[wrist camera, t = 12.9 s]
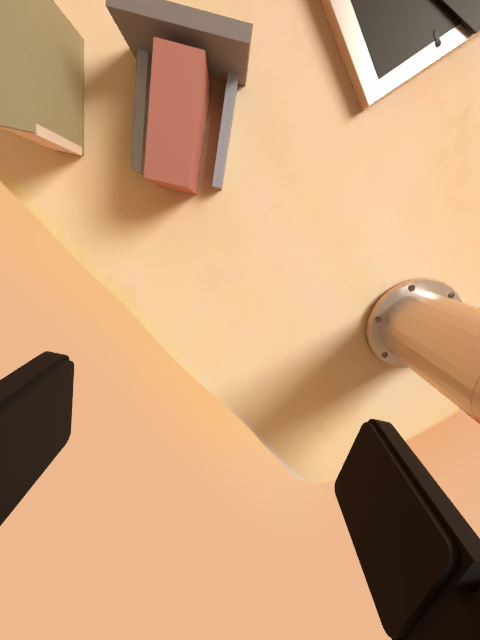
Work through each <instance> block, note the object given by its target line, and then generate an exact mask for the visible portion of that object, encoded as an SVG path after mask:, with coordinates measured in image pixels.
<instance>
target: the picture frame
mask: <svg viewBox="0 0 480 640" xmlns="http://www.w3.org/2000/svg"><path fill="white" fill-rule="evenodd" d="M320 2H321V4H322V7H323V9H324V12H325V15H326V17H327V20H328V23H329V25H330V28H331V30H332V33H333V36H334V38H335V41H336V44H337V46H338V49H339V52H340V54H341V57H342V59H343V62H344V65H345V67H346V70H347V73H348V75H349V78H350V80H351V83H352V86H353V88H354V91H355V94H356V96H357V99H358V102H359V104H360V107H361V109H362V111H364V110H365V109H367V108H368V107H370V106H371V105H373V104H374V103H376V102H377V101H379V100H380V99H382V98H383V97H385V96H386V95H388V94H389V93H391V92H392V91H394V90H395V89H397V88H398V87H399V86H401V85H402V84H404V83H405V82H407V81H408V80H410V79H411V78H413V77H414V76H416V75H417V74H419V73H420V72H422V71H423V70H425V69H426V68H428V67H429V66H431V65H432V64H434V63H435V62H437V61H438V60H440V59H441V58H443V57H444V56H445V55H447V54H448V53H450V52H451V51H453V50H454V49H456V48H457V47H459V46H460V45H462V44H463V43H465V42H466V41H468V40H469V39H471V38H472V37H474V36H475V35H477V34H478V33H480V0H320Z"/></svg>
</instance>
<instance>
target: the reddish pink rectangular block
mask: <svg viewBox="0 0 480 640" xmlns="http://www.w3.org/2000/svg"><path fill="white" fill-rule="evenodd" d="M210 91H211V90H210V83H209V76H208V69H207V62H206V55H205V50H202V49H198V48H195V47H191V46H187V45H183V44H180V43H176V42H172V41H168V40H165V39H161V38H157V37H154V38H153V52H152V67H151V81H150V95H149V109H148V123H147V137H146V152H145V166H144V178H145V179H147V180H149V181H151V182H153V183H155V184H156V185H158V186H160V187H163V188H167V189H172V190H177V191H181V192H186V193H191V194H195V195H197V191H198V183H199V176H200V168H201V160H202V153H203V145H204V137H205V130H206V122H207V114H208V107H209V99H210Z"/></svg>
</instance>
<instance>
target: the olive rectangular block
mask: <svg viewBox="0 0 480 640" xmlns="http://www.w3.org/2000/svg"><path fill="white" fill-rule="evenodd" d="M0 128H2V129H5V130H7V131H9V132H12V133H14V134H17V135H19V136H21V137H24V138H26V139H29V140H31V141H33V142H36V143H38V144H40V145H43V146H45V147H48V148H50V149H53V150H58V151H62V152H67V153H72V154H77V155H81V156H82V155H84V39H83V38H82V36H81V35H80V34H79V33H78V31H77V30H76V29H75V28H74V26H73V25H72V24H71V23H70V21H69V20H68V19H67V18H66V16H65V15H64V14H63V12H62V11H61V10H60V9H59V7H58V6H57V5H56V4H55V2H54V1H53V0H0Z"/></svg>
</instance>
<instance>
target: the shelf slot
mask: <svg viewBox="0 0 480 640" xmlns="http://www.w3.org/2000/svg"><path fill="white" fill-rule="evenodd" d="M106 7H107V9H108V10H109V12H110V14H111V16H112V17H113V19H114V21H115V23H116V24H117V26H118V28H119V30H120V31H121V33H122V35H123V37H124V38H125V40H126V42H127V44H128V46H129V47H130V49H131V51H132V53H133V54H134V56H135V58H136V59H137V64H136V83H135V102H134V121H133V140H132V160H131V169H133V170H135V171H136V172H140V173H144V166H145V152H146V137H147V123H148V109H149V95H150V81H151V67H152V52H153V38H154V37H157V38H161V39H165V40H168V41H172V42H176V43H180V44H183V45H187V46H191V47H195V48H198V49H202V50H205V55H206V62H207V69H208V76H209V77H211V78H215V79H219V80H223V81H227V83H226V90H225V97H224V104H223V112H222V119H221V126H220V133H219V140H218V147H217V154H216V161H215V168H214V175H213V183H212V187H213V188H215V189H220V190H222V185H223V179H224V172H225V166H226V159H227V152H228V146H229V139H230V133H231V126H232V120H233V113H234V106H235V100H236V93H237V87H238V84H239V85H243V86H245V83H246V77H247V70H248V62H249V53H250V44H251V35H252V27H253V24H251V23H247V22H243V21H240V20H236V19H232V18H229V17H225V16H221V15H218V14H214V13H210V12H207V11H203V10H199V9H196V8H192V7H188V6H185V5H181V4H177V3H174V2H170V1H166V0H106Z"/></svg>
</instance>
